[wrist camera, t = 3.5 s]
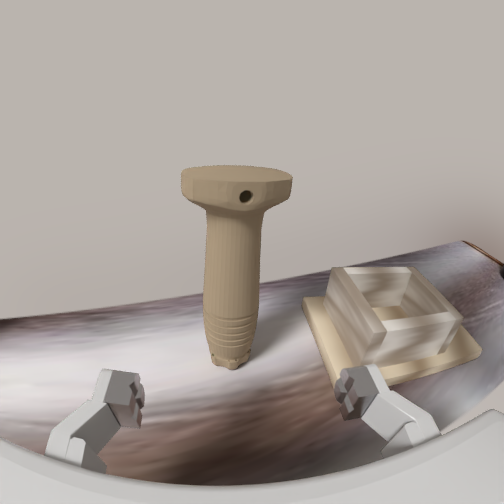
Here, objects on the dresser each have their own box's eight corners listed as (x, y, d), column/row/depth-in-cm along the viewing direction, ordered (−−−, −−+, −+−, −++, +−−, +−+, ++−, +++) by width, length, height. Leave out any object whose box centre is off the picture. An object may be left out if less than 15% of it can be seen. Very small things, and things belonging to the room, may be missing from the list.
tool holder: (336, 396, 19) (359, 348, 17) (301, 306, 30) (310, 260, 28) (477, 357, 22) (501, 317, 19) (426, 297, 32) (440, 261, 30)
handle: (188, 341, 24) (180, 166, 17) (257, 334, 26) (275, 166, 19) (194, 384, 20) (182, 182, 13) (274, 372, 22) (305, 183, 15)
